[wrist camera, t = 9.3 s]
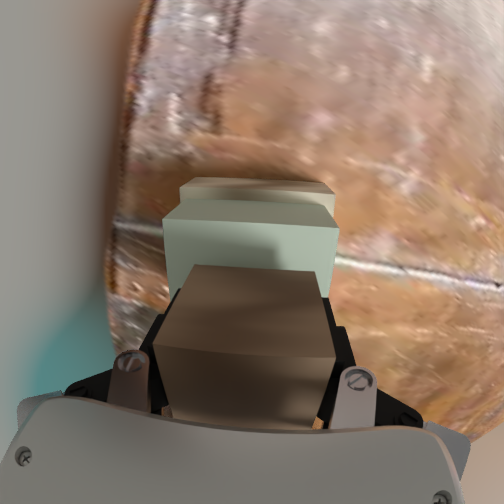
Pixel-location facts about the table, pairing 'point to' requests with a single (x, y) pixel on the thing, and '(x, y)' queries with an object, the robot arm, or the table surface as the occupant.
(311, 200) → the base block
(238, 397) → the walnut cube
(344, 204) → the table surface
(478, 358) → the table surface
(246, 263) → the top block
